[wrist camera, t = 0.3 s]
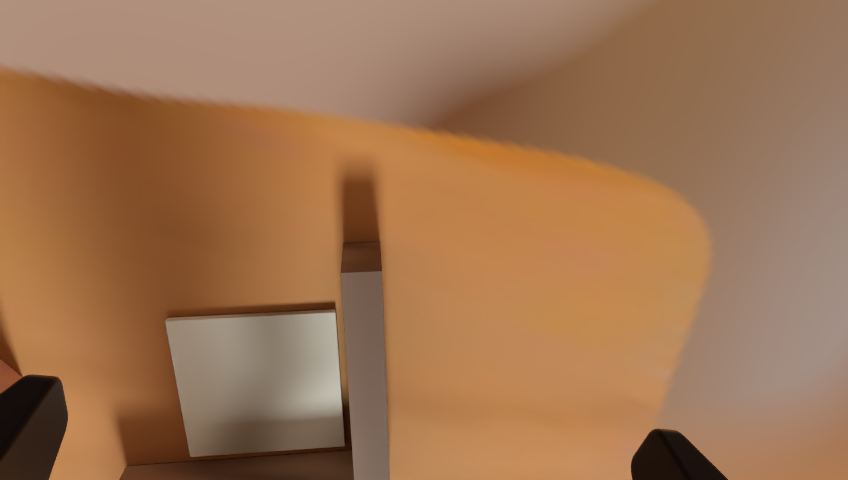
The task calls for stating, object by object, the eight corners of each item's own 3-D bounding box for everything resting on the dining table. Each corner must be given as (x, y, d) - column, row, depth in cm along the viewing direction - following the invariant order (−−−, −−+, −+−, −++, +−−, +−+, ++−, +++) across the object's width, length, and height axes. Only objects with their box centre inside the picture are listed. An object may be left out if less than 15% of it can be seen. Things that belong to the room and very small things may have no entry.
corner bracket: (132, 491, 28) (106, 544, 25) (77, 254, 24) (38, 287, 21) (388, 472, 29) (391, 521, 26) (379, 241, 25) (382, 271, 22)
